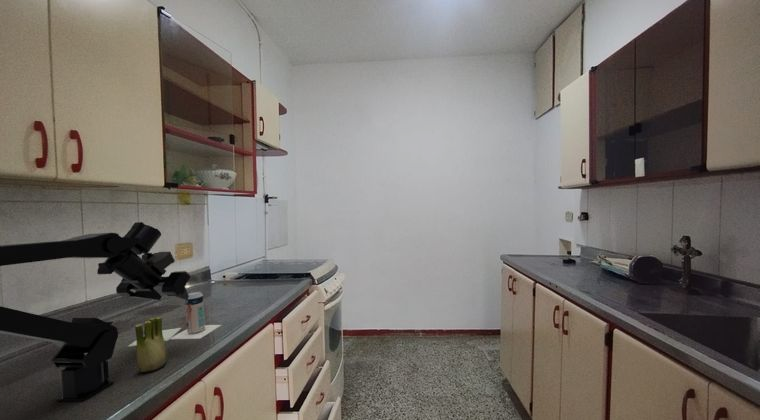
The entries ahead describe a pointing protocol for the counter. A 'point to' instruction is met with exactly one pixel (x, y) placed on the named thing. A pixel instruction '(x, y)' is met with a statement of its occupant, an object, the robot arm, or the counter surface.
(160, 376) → the counter surface
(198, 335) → the card
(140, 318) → the counter surface
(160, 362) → the fennel bulb
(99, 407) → the counter surface
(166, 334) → the sage mat
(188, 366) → the counter surface
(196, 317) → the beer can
